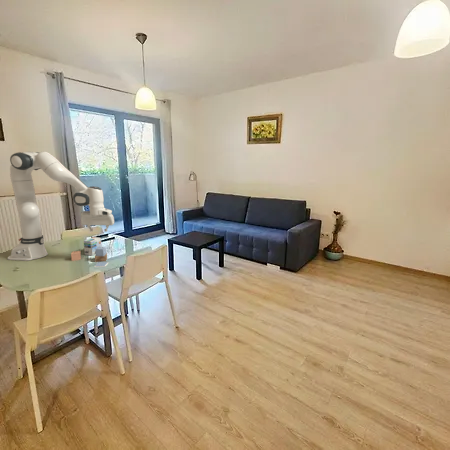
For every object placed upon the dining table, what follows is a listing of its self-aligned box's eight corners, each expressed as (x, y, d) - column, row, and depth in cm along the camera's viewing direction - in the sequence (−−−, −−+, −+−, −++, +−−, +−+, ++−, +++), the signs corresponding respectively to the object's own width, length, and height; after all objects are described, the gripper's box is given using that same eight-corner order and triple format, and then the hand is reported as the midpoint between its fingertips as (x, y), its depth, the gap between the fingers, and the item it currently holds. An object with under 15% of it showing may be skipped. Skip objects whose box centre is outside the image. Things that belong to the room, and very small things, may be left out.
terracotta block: (71, 260, 172) (71, 254, 171) (72, 258, 177) (72, 251, 176) (80, 260, 174) (79, 253, 173) (81, 257, 179) (80, 250, 177)
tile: (94, 267, 164) (94, 266, 164) (97, 262, 170) (97, 262, 170) (105, 266, 165) (105, 265, 165) (108, 262, 171) (108, 261, 171)
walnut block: (95, 262, 172) (94, 257, 171) (96, 258, 178) (95, 253, 177) (106, 261, 174) (105, 256, 173) (107, 257, 180) (106, 252, 179)
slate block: (96, 256, 172) (95, 249, 171) (98, 253, 177) (98, 246, 176) (103, 256, 173) (103, 249, 171) (106, 253, 177) (105, 246, 176)
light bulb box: (92, 255, 182) (91, 241, 180) (84, 254, 183) (83, 240, 181) (102, 251, 192) (101, 237, 190) (94, 250, 194) (93, 236, 191)
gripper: (78, 211, 163) (80, 232, 166) (111, 212, 166) (112, 232, 169) (82, 210, 169) (84, 230, 172) (114, 210, 172) (115, 230, 175)
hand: (98, 231), depth 171 cm, fingers open, 8 cm apart
